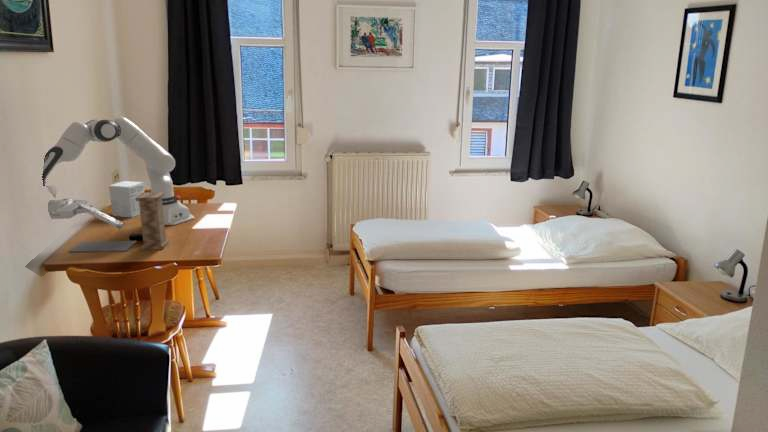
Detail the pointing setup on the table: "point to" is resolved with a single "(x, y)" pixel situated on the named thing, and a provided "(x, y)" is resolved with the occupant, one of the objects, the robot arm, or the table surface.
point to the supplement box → (125, 198)
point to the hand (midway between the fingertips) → (89, 209)
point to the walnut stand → (152, 220)
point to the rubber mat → (103, 246)
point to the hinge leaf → (102, 215)
